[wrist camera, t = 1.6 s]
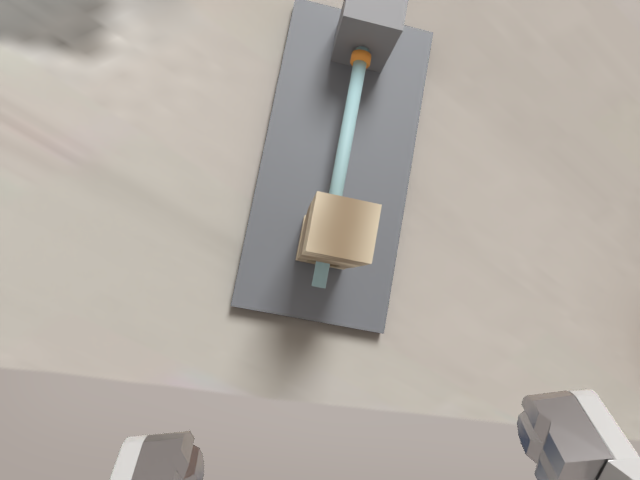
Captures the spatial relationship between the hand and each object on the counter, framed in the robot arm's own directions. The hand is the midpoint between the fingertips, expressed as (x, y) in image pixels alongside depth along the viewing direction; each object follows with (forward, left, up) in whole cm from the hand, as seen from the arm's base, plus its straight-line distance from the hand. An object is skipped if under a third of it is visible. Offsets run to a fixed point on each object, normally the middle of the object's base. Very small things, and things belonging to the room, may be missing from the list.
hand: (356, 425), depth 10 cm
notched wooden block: (+1, +8, -28) cm, 29 cm away
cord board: (+1, +16, -29) cm, 33 cm away
